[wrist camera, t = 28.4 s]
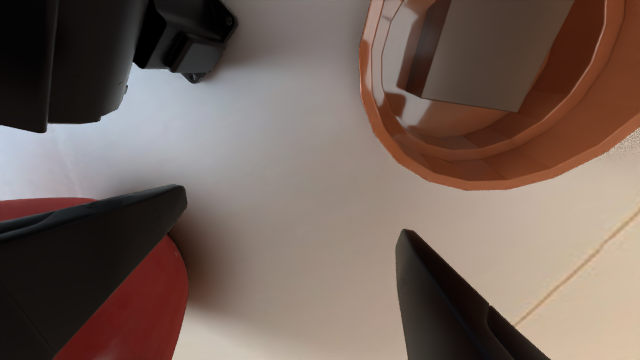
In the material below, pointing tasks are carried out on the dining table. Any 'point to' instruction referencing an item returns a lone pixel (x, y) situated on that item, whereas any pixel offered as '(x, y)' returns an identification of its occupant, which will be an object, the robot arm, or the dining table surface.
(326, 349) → the dining table surface
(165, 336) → the mixing bowl
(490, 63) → the block
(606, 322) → the dining table surface
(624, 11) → the bowl
